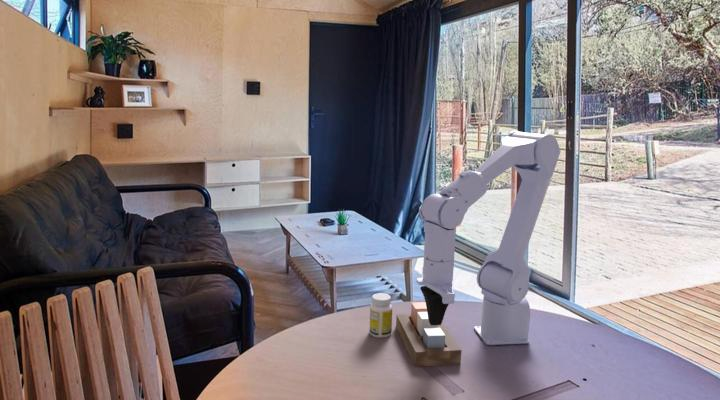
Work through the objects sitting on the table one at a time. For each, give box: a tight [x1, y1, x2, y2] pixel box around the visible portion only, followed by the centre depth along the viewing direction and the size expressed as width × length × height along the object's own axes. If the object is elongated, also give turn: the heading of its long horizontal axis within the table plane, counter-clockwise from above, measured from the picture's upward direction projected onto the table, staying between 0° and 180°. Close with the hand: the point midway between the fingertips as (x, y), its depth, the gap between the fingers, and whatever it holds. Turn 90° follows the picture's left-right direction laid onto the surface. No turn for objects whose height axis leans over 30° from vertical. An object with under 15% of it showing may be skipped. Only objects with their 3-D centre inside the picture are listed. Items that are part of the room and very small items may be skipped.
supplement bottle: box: [369, 292, 393, 338], centre depth 111 cm, size 5×5×8 cm
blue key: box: [423, 328, 445, 348], centre depth 102 cm, size 3×3×4 cm
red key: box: [410, 301, 427, 325], centre depth 112 cm, size 3×3×4 cm
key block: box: [395, 313, 462, 368], centre depth 107 cm, size 9×17×3 cm, turn 9°
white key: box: [417, 312, 438, 336], centre depth 107 cm, size 3×3×4 cm
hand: (435, 323), depth 101 cm, fingers closed
